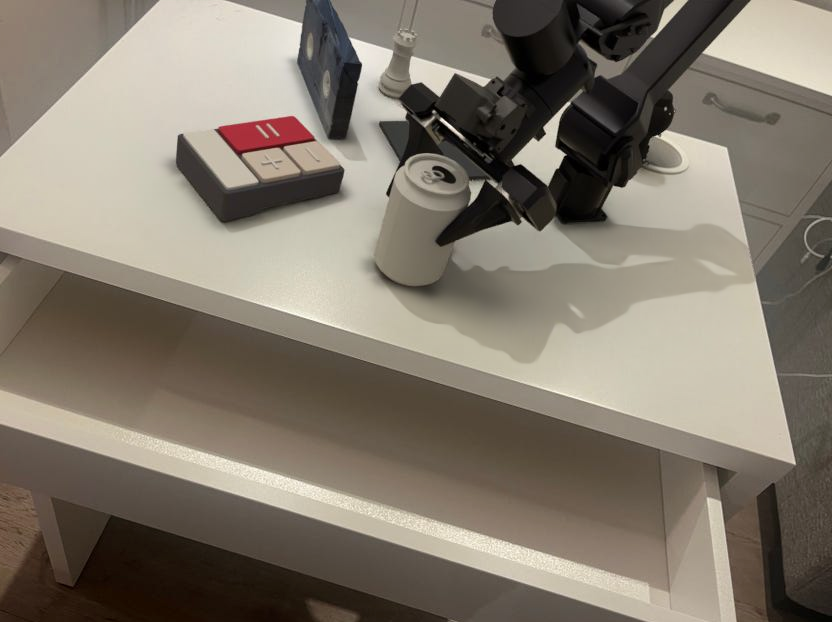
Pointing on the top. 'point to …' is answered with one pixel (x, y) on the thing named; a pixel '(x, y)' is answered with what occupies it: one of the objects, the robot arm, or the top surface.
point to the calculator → (257, 165)
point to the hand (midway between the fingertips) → (412, 220)
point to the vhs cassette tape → (328, 66)
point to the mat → (399, 137)
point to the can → (421, 218)
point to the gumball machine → (658, 122)
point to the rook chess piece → (399, 65)
